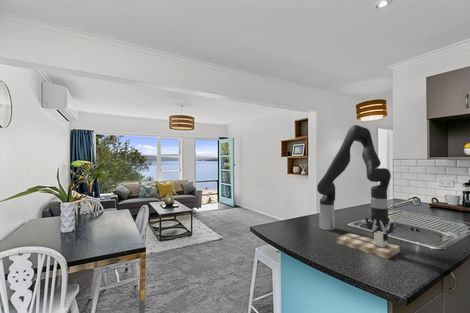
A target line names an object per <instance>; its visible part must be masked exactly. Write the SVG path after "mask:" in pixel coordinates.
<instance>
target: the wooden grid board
mask: <svg viewBox="0 0 470 313" xmlns="http://www.w3.org/2000/svg"><path fill="white" fill-rule="evenodd" d="M373 242H374V238H371V237H367V236H364V235H359V234H355V233H352V232H348V233H345V234H343V235H340V236H338V237H336V244H339V245H342V246H346V247H348V248H352V249H355V250H357V251H360V252H365V253H367V254H371V255H372V256H376V257H380V258H383V259H386V260H389V259H391V258H392V257H394V256H396V255H397V254H399V253H400V252H401V251H400V249H401V248H400V245H397V244H393V243H391V242H390V243H389V242H387V243H388V245H387V246H385V247H379V246H376V245H372V243H373Z"/></svg>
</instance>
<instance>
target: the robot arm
mask: <svg viewBox="0 0 470 313" xmlns="http://www.w3.org/2000/svg"><path fill="white" fill-rule="evenodd" d="M371 134H372V133H371V131H370V130H369V128H367V127H364V126H360V125H357V124H354V125H352V126H351V127H350V128H349V130H348V131H347V132H346V135H345V138H343V139H344V140H343V142H342V144H341V146H340V148H339V150H338V151H337V153H336V155H335V156H334V157H333V160H332V161H331V163H330V165H329V167H328V168H327V171H326V172H325V174H324V175H323V177H322V178H321V179H320V181H319V182H318V184H317V185H316V186H317V187H316V189H317V190H316V191H317V193H318V194H321V195H322V196H321V198H320V199H319V214H318V228H320V229H322V230H324V231H334V230H335V228H336V227H335V226H336V225H335V223H336V222H335V201H336V186H335V183H334V182H335V180H336V179H337V178H338V177H339V176H340V175H342V173H343V172H344V171H346V169H347V167H348V166H349V164H350V162H351V148H352V145H353V143H354V142H356V143H357V142H358V143H361V145H362V147H363V150H362V153H361V155H362V160H363V162H364V164H365V167H366V168H365V170H366V179H367V180H368V181H370V182H371V183H375V182H376V183H377V182H378V184H377V185H374V186H372V187H371V188H370V198H371V199H370V215H371V216H370V217H369V216H368V217H367V216H366V217H365V218H364V219H365V222H366V224H367V225H366V226H367V228H368V229H369V230H371V232H372V238H374V233H375V232H377V229H378V227H380V228H381V229H382V232H384V234H383V238H384V241H387V242H388V240H389V235H390V234H392V233H393V232H394V229H395V226H396V222H395V221H391V220H390V219H389V202H388V188H389V184H390V180H391V178H392V176H391V175H392V174H391V173H392V172H391V171H390V170H389V169H388V168H386V167H382V168H381V167H380V166H381V159H380V158H379V156H378V153H377V152H376V150H375V146H374V143H373V139H372V135H371ZM379 167H380V168H379ZM372 222H373V224H372Z"/></svg>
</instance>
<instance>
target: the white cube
mask: <svg viewBox="0 0 470 313" xmlns="http://www.w3.org/2000/svg"><path fill="white" fill-rule="evenodd" d="M376 231H377V230H376ZM383 234H384V232H383V231H377V232H375V233H374V237H373V239H374V242H373V243H372V245H376V246H379V247H385V246H387V245H388V243H389V242H388V240H387V241H384V238H383Z"/></svg>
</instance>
